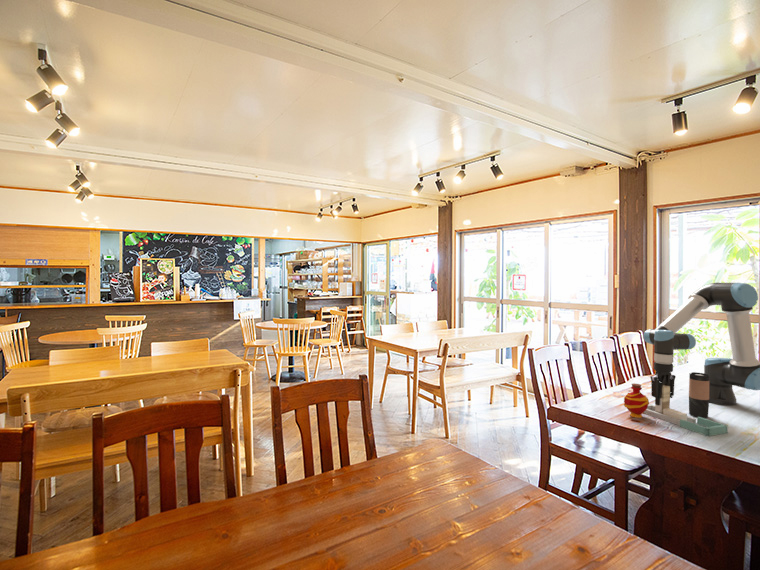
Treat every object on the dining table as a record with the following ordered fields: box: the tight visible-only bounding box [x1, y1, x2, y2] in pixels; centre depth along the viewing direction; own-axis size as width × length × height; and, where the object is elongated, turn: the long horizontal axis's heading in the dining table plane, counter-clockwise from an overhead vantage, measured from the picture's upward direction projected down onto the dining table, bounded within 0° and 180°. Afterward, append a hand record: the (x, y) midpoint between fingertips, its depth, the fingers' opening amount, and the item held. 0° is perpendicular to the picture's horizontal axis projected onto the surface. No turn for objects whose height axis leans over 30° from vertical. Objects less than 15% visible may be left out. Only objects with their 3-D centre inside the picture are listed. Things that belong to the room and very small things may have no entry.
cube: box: [672, 410, 688, 421], centre depth 184 cm, size 4×4×4 cm
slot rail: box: [643, 403, 697, 426], centre depth 190 cm, size 10×22×2 cm, turn 18°
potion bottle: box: [623, 383, 650, 419], centre depth 191 cm, size 10×10×15 cm
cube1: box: [663, 408, 678, 417], centre depth 188 cm, size 4×4×4 cm
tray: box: [679, 417, 729, 437], centre depth 174 cm, size 12×12×3 cm
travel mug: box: [688, 371, 710, 419], centre depth 192 cm, size 8×8×20 cm
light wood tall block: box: [654, 385, 671, 414], centre depth 191 cm, size 4×4×14 cm
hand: (662, 411), depth 191 cm, fingers closed on light wood tall block, 4 cm apart
